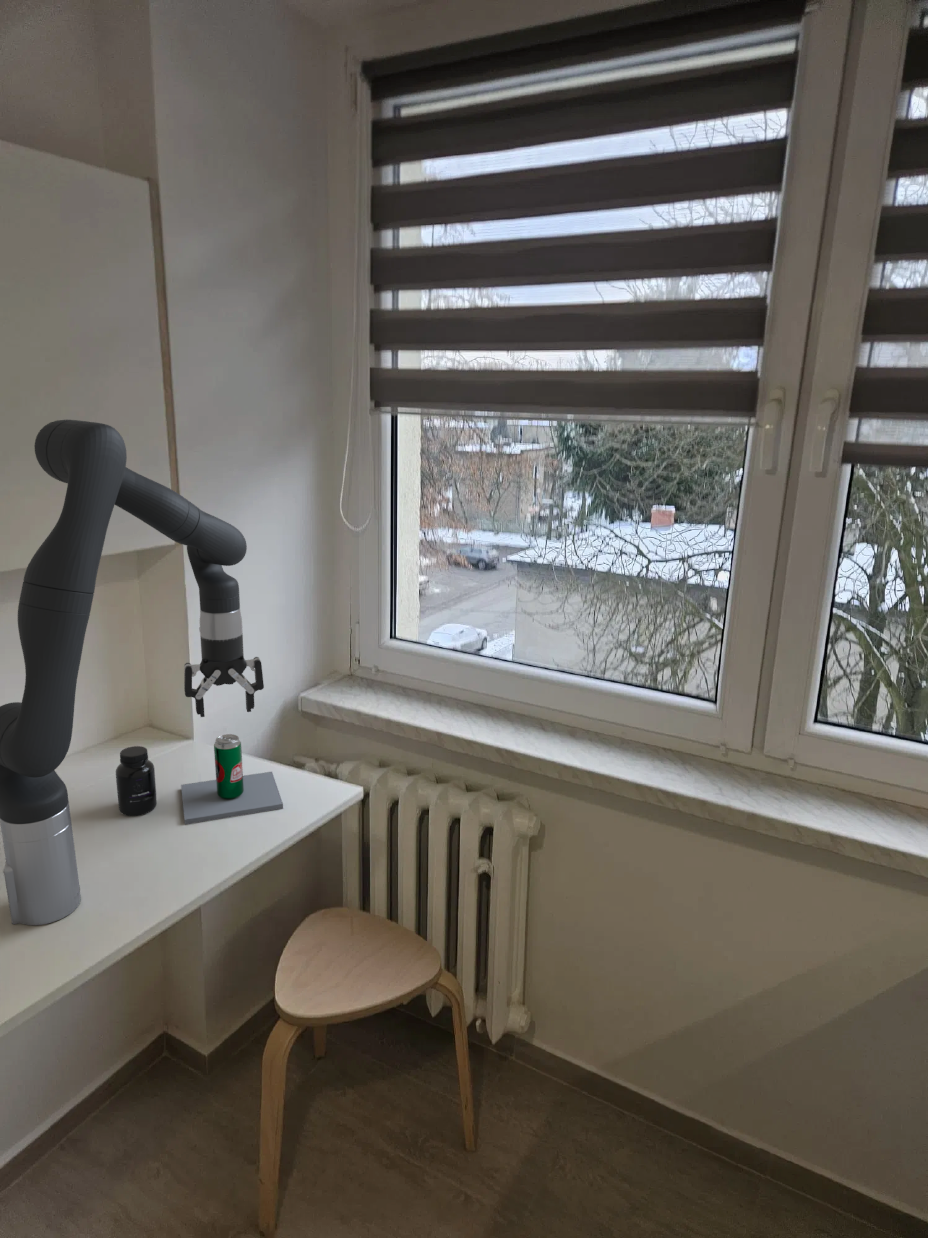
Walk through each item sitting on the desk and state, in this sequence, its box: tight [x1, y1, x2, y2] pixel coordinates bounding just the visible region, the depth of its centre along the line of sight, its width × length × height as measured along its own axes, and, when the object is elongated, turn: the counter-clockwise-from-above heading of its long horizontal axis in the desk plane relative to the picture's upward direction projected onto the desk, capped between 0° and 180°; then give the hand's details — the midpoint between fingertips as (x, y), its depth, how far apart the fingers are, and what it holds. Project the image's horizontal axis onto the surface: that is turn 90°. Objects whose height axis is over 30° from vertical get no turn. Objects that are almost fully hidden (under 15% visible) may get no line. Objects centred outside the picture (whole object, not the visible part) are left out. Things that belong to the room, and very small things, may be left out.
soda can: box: [213, 733, 244, 799], centre depth 152 cm, size 5×5×12 cm
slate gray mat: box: [180, 771, 284, 825], centre depth 154 cm, size 18×14×1 cm
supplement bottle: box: [115, 745, 158, 817], centre depth 148 cm, size 7×7×12 cm
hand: (225, 713), depth 149 cm, fingers open, 8 cm apart
